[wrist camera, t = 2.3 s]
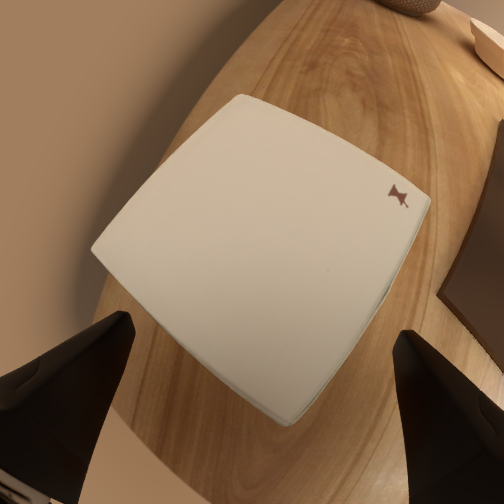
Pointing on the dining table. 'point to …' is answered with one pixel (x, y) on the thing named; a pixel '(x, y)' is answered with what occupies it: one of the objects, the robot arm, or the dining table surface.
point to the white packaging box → (265, 250)
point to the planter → (412, 6)
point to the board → (482, 265)
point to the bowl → (489, 46)
